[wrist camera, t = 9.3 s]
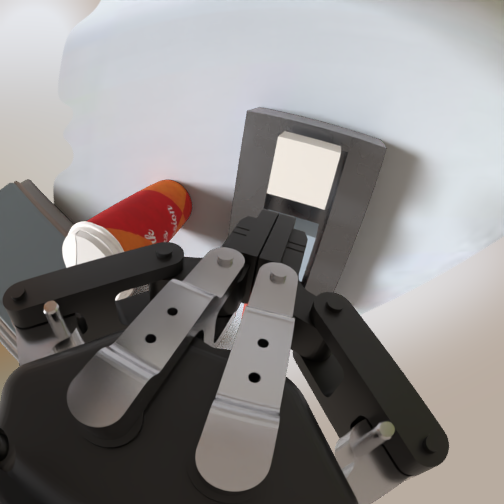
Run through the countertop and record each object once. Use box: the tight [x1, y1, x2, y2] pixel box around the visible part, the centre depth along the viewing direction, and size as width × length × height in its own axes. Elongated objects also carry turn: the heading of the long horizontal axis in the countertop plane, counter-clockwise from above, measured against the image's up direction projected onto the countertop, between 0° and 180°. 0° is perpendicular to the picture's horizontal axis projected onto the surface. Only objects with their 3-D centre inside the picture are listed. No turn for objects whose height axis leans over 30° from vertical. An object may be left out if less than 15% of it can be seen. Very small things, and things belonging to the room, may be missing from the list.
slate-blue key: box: [268, 209, 319, 282], centre depth 27 cm, size 4×4×5 cm
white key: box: [267, 131, 341, 210], centre depth 23 cm, size 4×4×5 cm
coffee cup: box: [62, 180, 192, 301], centre depth 29 cm, size 8×8×15 cm
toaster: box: [0, 180, 137, 361], centre depth 40 cm, size 19×35×20 cm, turn 54°
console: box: [228, 107, 387, 296], centre depth 30 cm, size 20×12×4 cm, turn 171°
